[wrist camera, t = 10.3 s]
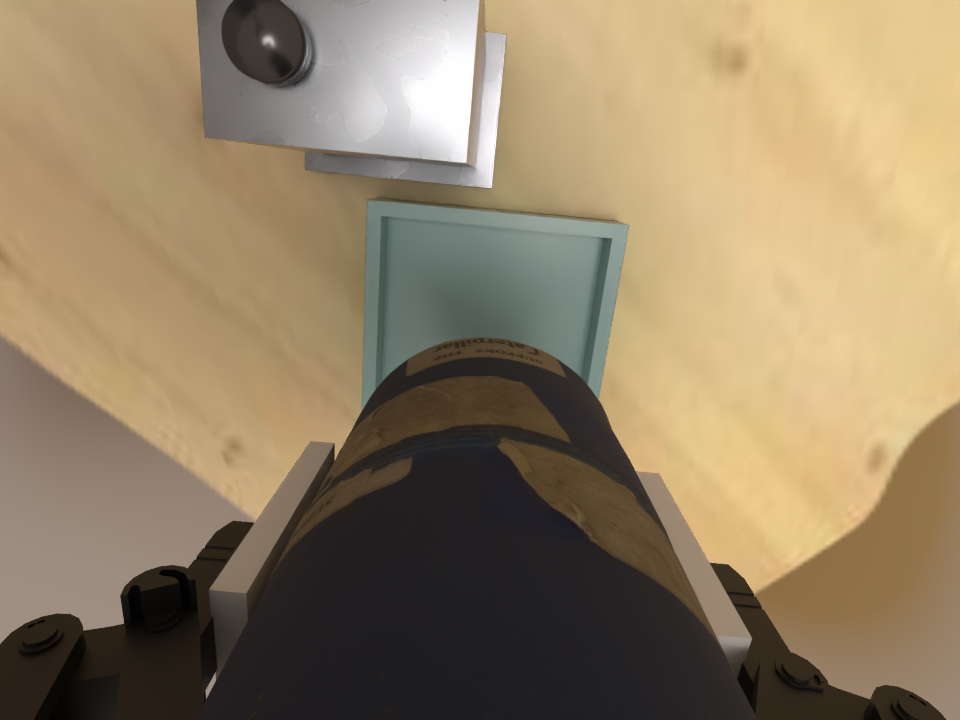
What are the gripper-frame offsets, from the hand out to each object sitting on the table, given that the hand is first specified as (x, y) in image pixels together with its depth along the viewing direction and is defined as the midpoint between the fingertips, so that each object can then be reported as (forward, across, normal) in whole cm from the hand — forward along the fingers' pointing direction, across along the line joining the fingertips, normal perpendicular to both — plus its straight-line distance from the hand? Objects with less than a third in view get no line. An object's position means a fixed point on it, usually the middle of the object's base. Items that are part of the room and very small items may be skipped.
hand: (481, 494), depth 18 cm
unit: (+19, -6, +13) cm, 24 cm away
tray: (+19, 0, 0) cm, 19 cm away
